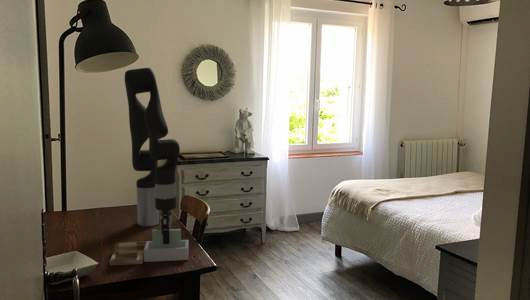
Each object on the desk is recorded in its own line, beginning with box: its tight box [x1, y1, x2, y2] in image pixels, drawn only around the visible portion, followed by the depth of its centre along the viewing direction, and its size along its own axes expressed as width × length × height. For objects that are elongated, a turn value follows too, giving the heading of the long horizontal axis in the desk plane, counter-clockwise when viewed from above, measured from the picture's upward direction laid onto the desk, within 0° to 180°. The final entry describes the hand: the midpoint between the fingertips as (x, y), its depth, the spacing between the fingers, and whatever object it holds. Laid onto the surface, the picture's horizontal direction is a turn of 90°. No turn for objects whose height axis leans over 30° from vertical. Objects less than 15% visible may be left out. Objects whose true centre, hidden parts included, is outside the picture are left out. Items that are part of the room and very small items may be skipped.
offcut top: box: [119, 241, 138, 254], centre depth 163 cm, size 4×6×2 cm, turn 106°
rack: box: [108, 241, 147, 266], centre depth 168 cm, size 14×11×4 cm
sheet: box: [151, 228, 182, 249], centre depth 170 cm, size 2×10×9 cm, turn 97°
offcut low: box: [115, 249, 138, 261], centre depth 163 cm, size 4×7×2 cm, turn 98°
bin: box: [143, 239, 190, 263], centre depth 170 cm, size 9×15×4 cm, turn 98°
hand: (166, 241), depth 169 cm, fingers open, 4 cm apart
